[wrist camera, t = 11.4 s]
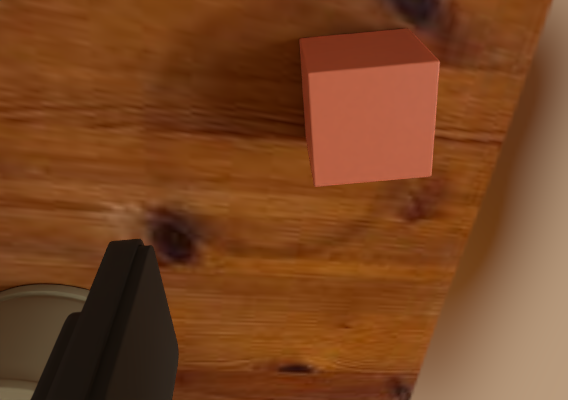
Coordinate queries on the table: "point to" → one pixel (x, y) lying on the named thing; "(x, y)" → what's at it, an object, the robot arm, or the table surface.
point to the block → (369, 106)
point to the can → (31, 333)
